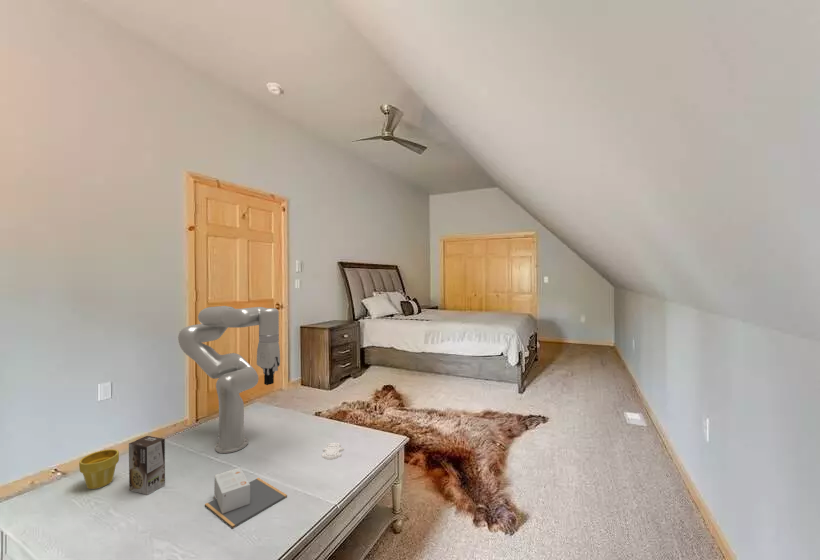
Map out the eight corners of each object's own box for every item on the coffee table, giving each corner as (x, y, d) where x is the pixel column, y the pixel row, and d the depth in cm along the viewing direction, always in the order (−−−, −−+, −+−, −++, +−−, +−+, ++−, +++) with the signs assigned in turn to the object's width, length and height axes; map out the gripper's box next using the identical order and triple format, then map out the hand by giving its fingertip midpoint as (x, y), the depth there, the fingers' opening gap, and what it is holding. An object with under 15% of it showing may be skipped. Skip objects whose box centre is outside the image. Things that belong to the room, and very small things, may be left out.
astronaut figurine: (346, 446, 150) (346, 439, 150) (339, 460, 138) (339, 453, 138) (326, 446, 150) (326, 439, 150) (317, 460, 138) (317, 452, 138)
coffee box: (166, 484, 121) (166, 438, 121) (146, 495, 115) (146, 447, 115) (147, 479, 124) (147, 434, 124) (128, 490, 118) (127, 442, 118)
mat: (204, 506, 110) (204, 503, 110) (258, 479, 124) (258, 477, 124) (232, 528, 100) (232, 526, 100) (287, 497, 114) (287, 494, 114)
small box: (214, 494, 115) (221, 514, 105) (214, 474, 115) (221, 493, 105) (240, 485, 120) (250, 504, 110) (240, 466, 120) (250, 484, 110)
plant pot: (73, 496, 115) (73, 466, 115) (86, 479, 124) (86, 452, 124) (113, 488, 119) (113, 459, 119) (123, 473, 129) (122, 446, 129)
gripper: (250, 338, 143) (250, 383, 143) (271, 342, 134) (271, 389, 134) (266, 335, 149) (267, 378, 149) (288, 339, 140) (288, 385, 140)
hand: (268, 383), depth 141 cm, fingers closed
